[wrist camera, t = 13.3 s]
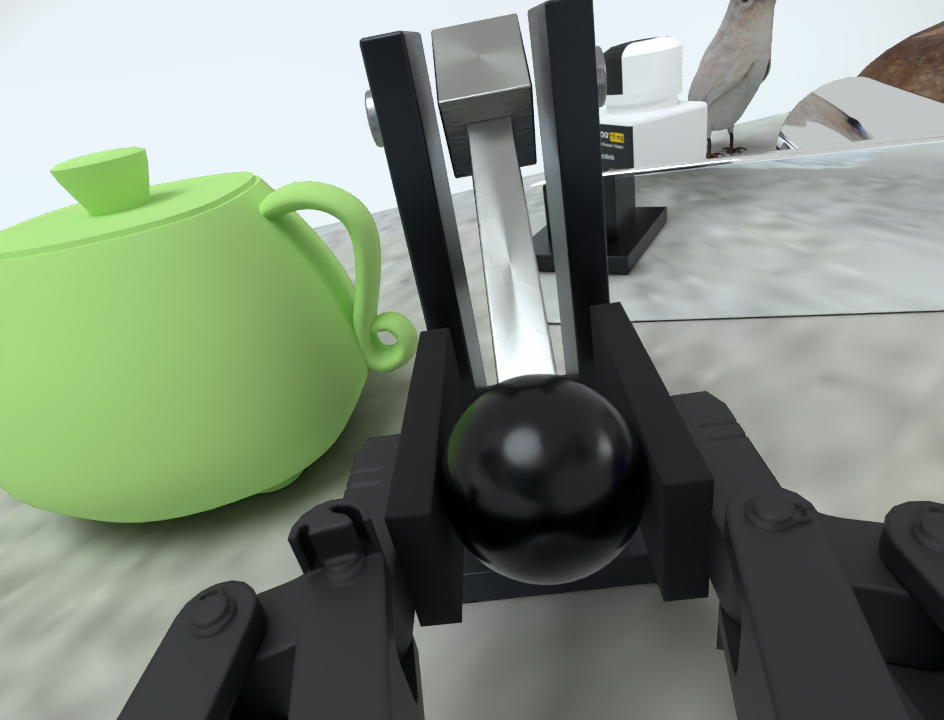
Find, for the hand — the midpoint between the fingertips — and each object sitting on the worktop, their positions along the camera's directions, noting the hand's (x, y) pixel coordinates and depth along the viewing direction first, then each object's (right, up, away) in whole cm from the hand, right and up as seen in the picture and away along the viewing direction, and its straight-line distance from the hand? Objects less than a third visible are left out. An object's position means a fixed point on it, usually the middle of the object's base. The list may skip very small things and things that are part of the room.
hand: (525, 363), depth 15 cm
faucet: (+14, +7, +21) cm, 27 cm away
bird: (+24, +20, +42) cm, 52 cm away
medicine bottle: (+13, +14, +34) cm, 39 cm away
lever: (0, +2, -1) cm, 2 cm away
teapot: (-14, -4, +12) cm, 19 cm away
